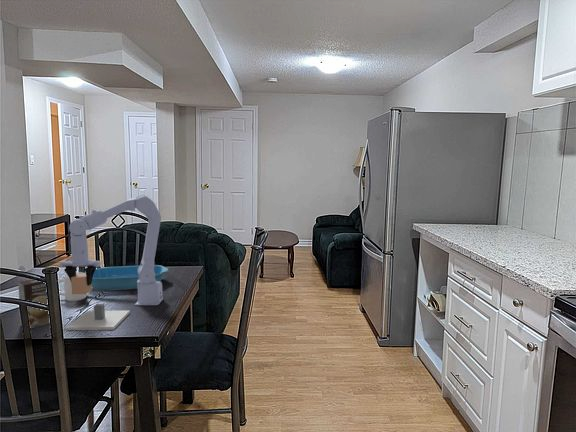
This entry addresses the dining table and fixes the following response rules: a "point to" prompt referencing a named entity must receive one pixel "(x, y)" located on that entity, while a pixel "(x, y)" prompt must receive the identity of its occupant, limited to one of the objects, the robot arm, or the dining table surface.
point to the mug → (70, 289)
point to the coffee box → (36, 294)
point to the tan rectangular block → (80, 284)
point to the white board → (99, 319)
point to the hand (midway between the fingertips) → (81, 284)
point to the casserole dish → (121, 277)
